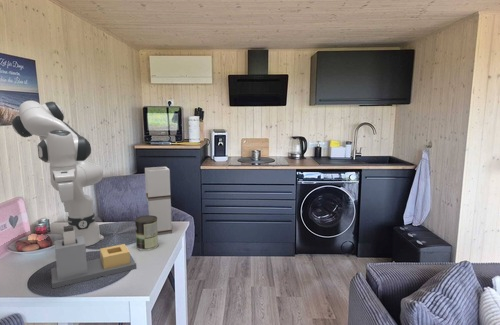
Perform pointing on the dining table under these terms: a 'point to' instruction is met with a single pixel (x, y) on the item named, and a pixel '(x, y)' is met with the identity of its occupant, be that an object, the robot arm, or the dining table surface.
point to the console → (87, 262)
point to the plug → (69, 235)
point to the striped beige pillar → (159, 197)
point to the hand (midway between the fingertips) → (66, 208)
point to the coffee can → (146, 232)
